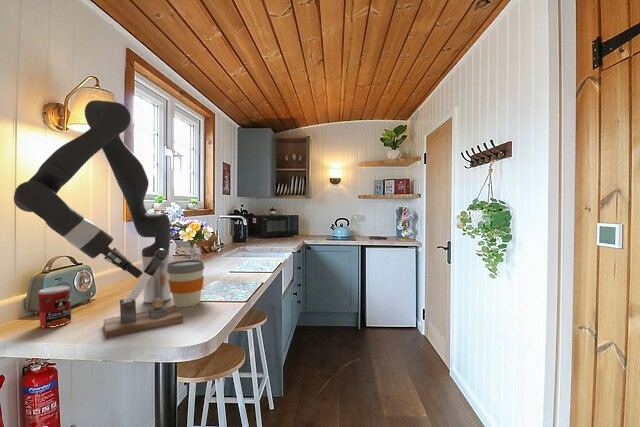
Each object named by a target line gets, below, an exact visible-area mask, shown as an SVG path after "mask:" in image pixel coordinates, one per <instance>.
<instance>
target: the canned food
mask: <svg viewBox="0 0 640 427" xmlns="http://www.w3.org/2000/svg"><path fill="white" fill-rule="evenodd" d="M71 305H72V304H71V288H70V286H69V285H58V286H49V287H46V288H43V289H42V288H41V289H40V290H38V307H39V308H38V309H39V310H38V311H39V325H40V327H41V326H44V327H50V326H56V325H60V324H63V323H66V322H68V321H70V320H72V308H71V307H72V306H71ZM70 322H71V321H70Z"/></svg>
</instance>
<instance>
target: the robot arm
mask: <svg viewBox="0 0 640 427" xmlns="http://www.w3.org/2000/svg"><path fill="white" fill-rule="evenodd" d="M131 116H132V114H131V113H130V110H129V109H128V107H127V106H126V105H124V104H123V103H120V102H117V101H108V100H99V99H98V100H97V99H96V100H95V99H94V100H91V101H89V102H88V103H86V105H85V108H84V117H85V120H86V123H87V125H88V127H89V129H88V130H86V131H85V132H83V133H82V134H80V135H79V136H77V137H75V138H74V139H72V140H70V141H68V142H66V143H65V144H63V145H62V146H60V147H58V148H57V149H56V150H55V151H54V152H52V153H51V154H50V156H49V157H47V158H46V160H45V161H44V162H42V164H41V165H40V166H39V167H38V169H37V171H36V173H35V174H34V175H33V176H31V178H29V180H28V181H26V182H25V181H24V182H22V183H20V184H19V185H18V186H17V187H16V188H15V190H14V195H13V202H14V204H15V206H16V207H17V208H18V209H20V210H21V211H23V212H27V213H34V215H36V216H38V217H39V218H40V219H42V221H44V222H45V224H46V225H47V226H48V227H49V228H50V229H51V230H52V231H54V232H55V233H56V234H58V235H59V236H61V237H62V238H64V239H65V240H66V241H67V242H68V243H70V244H71V246H73V247H75V248H76V249H78V250H79V251H81V252H82V253H83V254H84V255H86V256H88V257H89V258H91V259H95V258H97V257H98V256H99V255H103V256H104V257H103V258H104V260H105V261H107V262H108V263H111V264H112V265H114V266H115V267H117V268H120V269H121V270H123V271H124V272H127V273H129V274H130V275H132V276H133V277H134V278H136V279H140V278H141V276H142V275H143V273H144V272H143V271H144V270H145V268H146V267H147V266H148V264H149V263H150V261H151V260H152V258H153V257H154V255H155V252H156V251H157V250H158V249H165V250H166V251H167V254H168V255H167V257H166V258H165V259H164V260H163V261H162V263H161V264H160V266H159V267H158V269H157V270H156V272H155V273H154V275H153V276H151V278H150V279H149V281H148V282H147V284H146V285H145V287H144V288H143V289H142V291H143V302H144V303H146V304H150V303H151V304H152V301H153V300H154V299H156V298H160V299H162V300H163V302H166V301H169V300H170V299H171V297H172V294H171V292H170V287H169V281H168V280H169V274H168V273H167V268H168V264H169V263H170V247H171V222H170V217H169V216H168V214H166V213H163V212H155V213H153V212H152V213H151V212H148V211H147V209H146V207H145V204H144V201H145V197H146V196H147V195H146V194H147V192H148V189H149V184H150V182H149V178H148V175H147V172H146V170H145V168H144V165H143V164H142V163H141V160H139V159H138V157H137V156H136V155H135V154H134V153H133V152H132V151H131V149H129V147H128V146H127V145H126V144H125V143H124V141H123V139H122V138H121V134H122V133H123V132H125V131H126V130H127V129H128V128H129V126H130V125H131V120H132V118H131ZM100 150H102V151H103V153H104V155H105V158H106V160H107V162H108V164H109V166H110V168H111V170H112V172H113V173H112V174H113V176H114V178H115V181H116V182H117V184H118V187H119V188H120V190H121V193H122V195H123V197H124V199H125V202H126V204H127V207H128V210H129V212H130V215H131V219H132V222H133V225H134V228H135V231H136V232H137V234H138V235H139V236H140V237H141V238H154V243H152V244H151V245H149V246H146V247H143V248H142V250H141V258H142V259H141V263H142V264H141V265H142V271H141V269H139V268H137V267H136V266H135V265H134V264H133V263H132V262H131V261H130V260H129V259H128V258H127V256H126V255H124V254H123V253H121V251H120V250H119V249H117V247H114V248H111V247H110V245H111V244H112V243H113V241H114V238H113V237H112V236H111V235H109V234H108V232H106V231H104V230H103V229H102V228H100V226H98V225H97V224H96V223H94V222H92V221H91V220H89V219H87V218H86V217H85V216H83V215H82V214H80V213H79V212H77V211H76V210H75V209H74V208H72V207H71V206H69V205H68V204H67V203H66V201H64V200H63V198H62V197H60V196H59V195H58V193H59V191H60V190H61V189H62V188H63V187H64V186H65V185H66V184H67V183H68V182H69V181H71V179H72V178H74V176H75V175H76V174H77V173H78V172H79V170H81V169H82V167H83V166H84V165H85V164H86V163H87V162H88V161H90V159H91V158H93V156H95V154H97V153H98V152H100Z"/></svg>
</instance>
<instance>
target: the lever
mask: <svg viewBox="0 0 640 427" xmlns="http://www.w3.org/2000/svg"><path fill="white" fill-rule="evenodd" d="M167 255H168V254H167V251H166V250H165V249H158V250H157V251H156V252H155V255H154V257H153V258H152V260H151V261H150V263H149V264H148V266H147V267H146V268H145V270H144V271H143V270H142V275H141V276H140V277H139V278H138V281H137V282H136V284H135V285H134V287H133V288H132V290H131V291H130V293H129V294H128V296H127V297H126V298H123V299H124V300H123V301H122V303H124V302H130V301H136V300H137V298H138V297H139V295H140V294H141V292H142V291H143V288H144V287H145V285H146V284H147V282H148V281H149V279H150V278H151V276H153V275H154V273H155V272H156V270H157V269H158V267H159V266H160V264H161V263H162V261H163V260H164V259H165V258H166V257H167ZM143 272H144V273H143Z"/></svg>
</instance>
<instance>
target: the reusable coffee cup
mask: <svg viewBox="0 0 640 427" xmlns="http://www.w3.org/2000/svg"><path fill="white" fill-rule="evenodd" d="M204 270H205V266H204V261H203V260H201V259H184V260H177V261H173V262H172V261H171V262H169V264H168V268H167V273H168V274H169V280H168V281H169V287H170V294H171V297H172V302H173V306H174V307H175V308H177V307H178V308H187V307H192V306H196V305H198V304H200V302H201V296H202V290H203V286H204V285H203V284H204V275H203V273H204Z"/></svg>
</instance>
